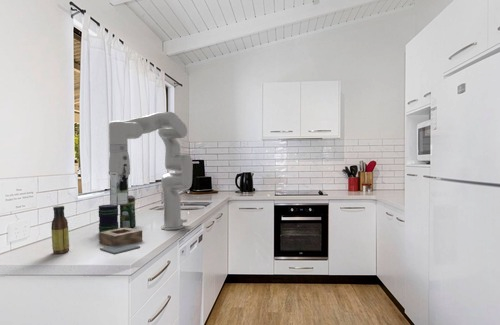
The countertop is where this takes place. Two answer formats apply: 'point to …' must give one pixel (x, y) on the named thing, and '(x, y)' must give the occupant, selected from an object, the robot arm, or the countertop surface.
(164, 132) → the robot arm
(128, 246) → the mat
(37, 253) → the countertop surface
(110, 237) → the pocket block
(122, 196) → the syrup box
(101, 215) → the storage jar
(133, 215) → the coffee jar
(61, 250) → the sauce bottle
